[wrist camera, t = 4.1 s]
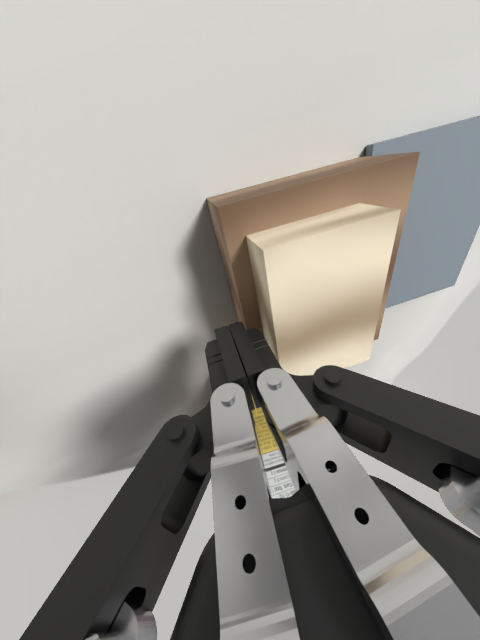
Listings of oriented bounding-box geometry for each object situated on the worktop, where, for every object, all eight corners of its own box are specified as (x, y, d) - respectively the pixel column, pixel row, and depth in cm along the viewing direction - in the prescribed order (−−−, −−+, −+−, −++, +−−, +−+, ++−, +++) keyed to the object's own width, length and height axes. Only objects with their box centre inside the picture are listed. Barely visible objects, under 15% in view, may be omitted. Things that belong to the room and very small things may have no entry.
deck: (206, 198, 13) (217, 207, 10) (361, 156, 14) (419, 151, 10) (245, 346, 20) (259, 380, 17) (345, 312, 21) (377, 338, 17)
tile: (245, 235, 11) (263, 250, 8) (359, 202, 11) (400, 209, 9) (269, 362, 16) (283, 390, 14) (344, 336, 16) (369, 359, 14)
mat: (366, 145, 13) (373, 144, 13) (518, 105, 14) (530, 103, 14) (347, 316, 21) (352, 319, 20) (448, 282, 22) (454, 285, 21)
